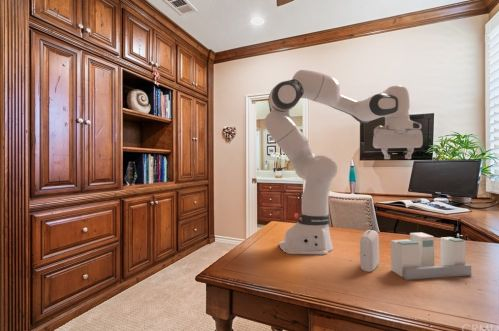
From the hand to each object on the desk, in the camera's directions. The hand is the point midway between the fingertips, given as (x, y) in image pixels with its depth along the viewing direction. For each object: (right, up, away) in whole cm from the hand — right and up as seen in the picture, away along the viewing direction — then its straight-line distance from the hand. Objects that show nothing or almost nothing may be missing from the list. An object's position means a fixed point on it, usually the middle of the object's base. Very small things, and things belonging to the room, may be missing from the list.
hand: (397, 158), depth 103 cm
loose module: (-3, -37, -19) cm, 42 cm away
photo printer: (-21, -38, -18) cm, 47 cm away
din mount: (-4, -37, -24) cm, 44 cm away
